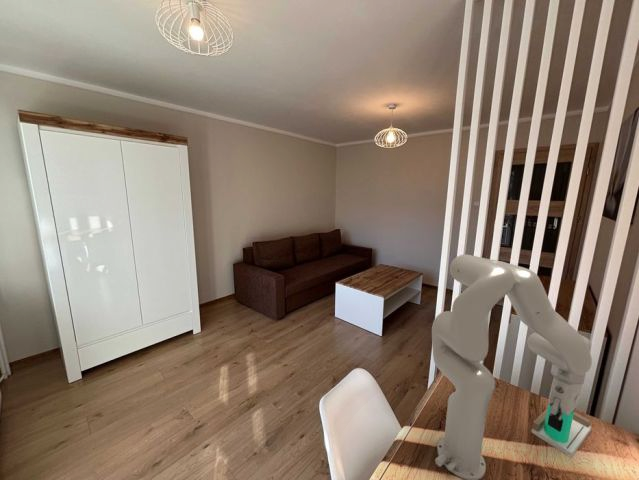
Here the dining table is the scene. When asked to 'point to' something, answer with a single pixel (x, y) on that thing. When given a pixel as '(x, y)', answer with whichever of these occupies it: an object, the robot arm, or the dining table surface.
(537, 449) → the dining table surface
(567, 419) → the candle
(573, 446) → the jig board
